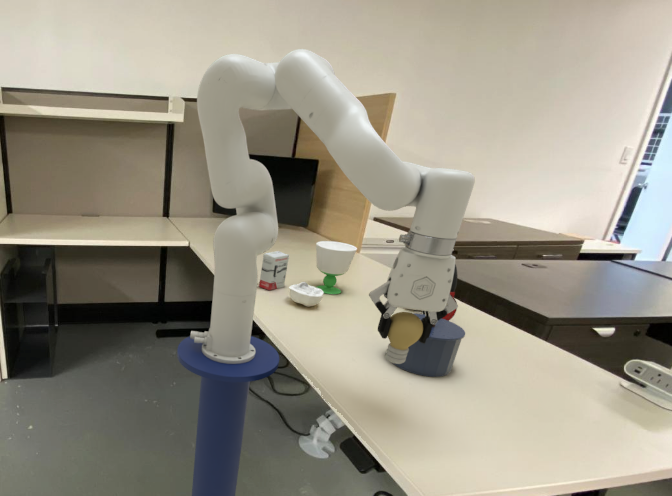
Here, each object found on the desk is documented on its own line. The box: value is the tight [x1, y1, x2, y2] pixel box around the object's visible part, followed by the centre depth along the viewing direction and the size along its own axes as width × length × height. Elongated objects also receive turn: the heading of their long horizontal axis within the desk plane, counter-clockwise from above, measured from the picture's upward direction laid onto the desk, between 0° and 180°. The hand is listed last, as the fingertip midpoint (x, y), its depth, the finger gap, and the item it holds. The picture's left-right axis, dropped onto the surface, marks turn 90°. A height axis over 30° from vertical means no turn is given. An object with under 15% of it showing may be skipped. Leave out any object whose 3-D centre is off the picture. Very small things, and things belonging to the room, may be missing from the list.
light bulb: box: [384, 311, 423, 364], centre depth 88 cm, size 6×6×10 cm
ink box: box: [258, 250, 290, 291], centre depth 160 cm, size 8×5×12 cm, turn 134°
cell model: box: [288, 281, 325, 307], centre depth 147 cm, size 10×12×7 cm
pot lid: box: [411, 312, 466, 341], centre depth 111 cm, size 16×16×4 cm
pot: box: [392, 338, 462, 378], centre depth 113 cm, size 15×15×10 cm
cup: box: [315, 240, 358, 295], centre depth 161 cm, size 14×14×16 cm
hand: (401, 337), depth 88 cm, fingers closed on light bulb, 6 cm apart
